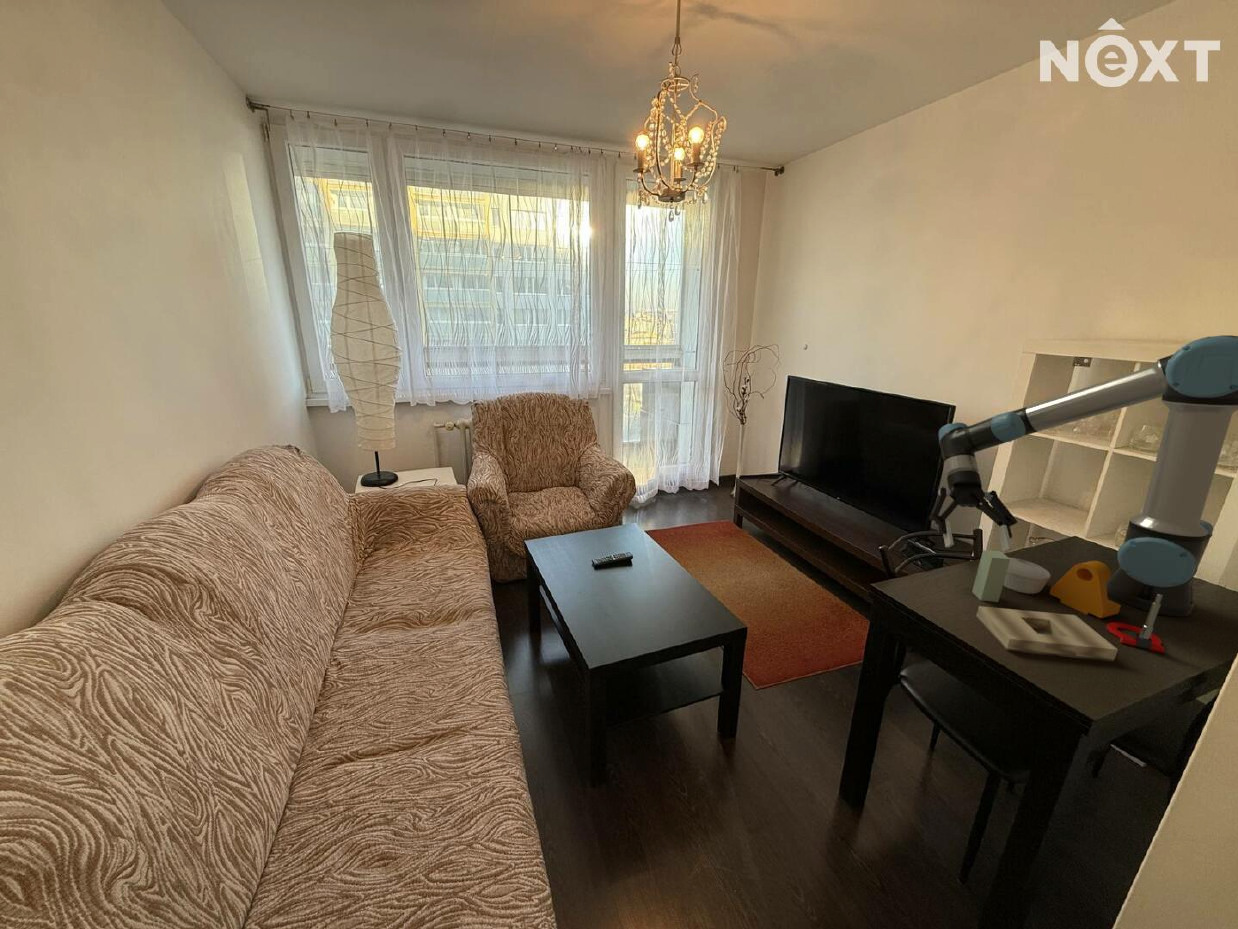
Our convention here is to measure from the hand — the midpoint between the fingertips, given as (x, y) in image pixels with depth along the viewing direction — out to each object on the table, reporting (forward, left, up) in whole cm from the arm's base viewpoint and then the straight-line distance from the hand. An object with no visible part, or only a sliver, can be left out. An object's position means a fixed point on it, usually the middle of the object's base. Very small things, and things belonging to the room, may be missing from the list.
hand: (978, 548), depth 124 cm
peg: (-1, +6, -11) cm, 12 cm away
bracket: (-23, +6, -11) cm, 26 cm away
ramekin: (-13, -2, -11) cm, 17 cm away
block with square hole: (-4, +22, -11) cm, 25 cm away
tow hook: (-25, +18, -11) cm, 33 cm away
